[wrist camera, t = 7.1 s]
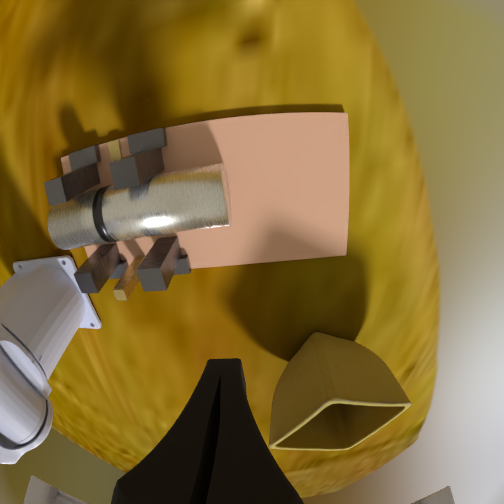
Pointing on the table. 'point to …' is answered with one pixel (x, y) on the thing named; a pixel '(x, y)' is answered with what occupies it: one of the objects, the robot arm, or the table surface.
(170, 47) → the table surface
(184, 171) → the tube
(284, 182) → the tile
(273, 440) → the flower pot
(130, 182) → the rail
